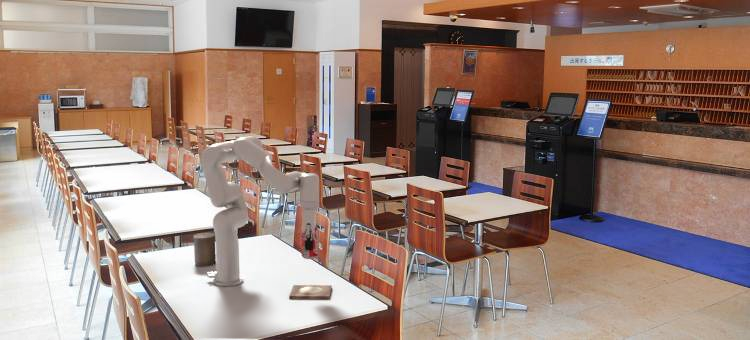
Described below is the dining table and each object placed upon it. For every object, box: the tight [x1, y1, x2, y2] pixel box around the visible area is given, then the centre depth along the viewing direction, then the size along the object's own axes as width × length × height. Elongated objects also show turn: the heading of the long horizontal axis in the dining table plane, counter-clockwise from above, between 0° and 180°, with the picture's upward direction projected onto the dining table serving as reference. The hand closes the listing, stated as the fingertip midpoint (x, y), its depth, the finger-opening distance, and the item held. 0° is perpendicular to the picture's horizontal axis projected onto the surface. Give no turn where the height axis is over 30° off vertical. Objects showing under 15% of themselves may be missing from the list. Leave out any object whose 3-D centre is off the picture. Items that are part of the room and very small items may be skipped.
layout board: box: [288, 284, 333, 300], centre depth 264 cm, size 16×13×1 cm
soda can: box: [300, 224, 320, 260], centre depth 260 cm, size 7×7×13 cm
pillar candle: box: [193, 232, 217, 267], centre depth 302 cm, size 10×10×15 cm
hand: (310, 246), depth 261 cm, fingers closed on soda can, 7 cm apart
